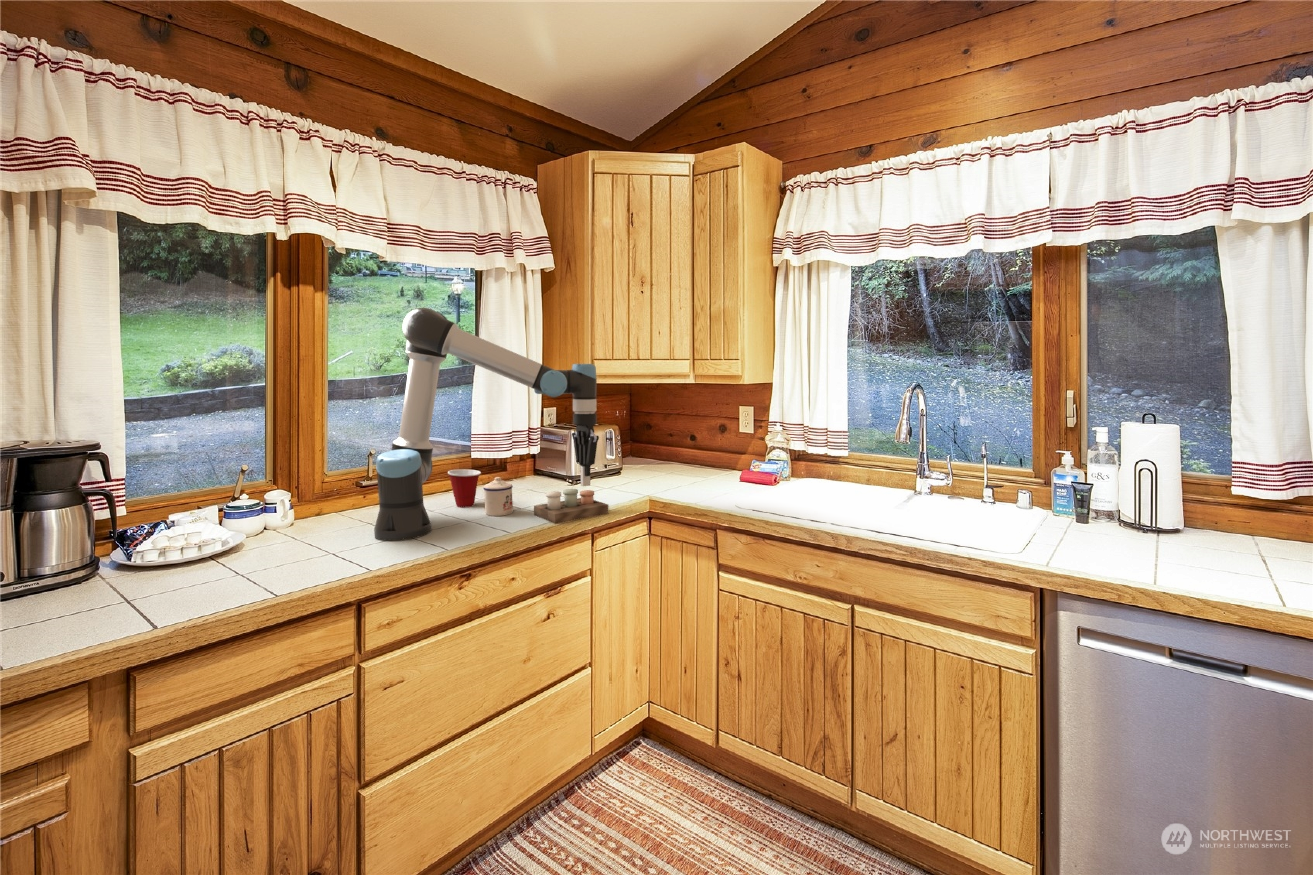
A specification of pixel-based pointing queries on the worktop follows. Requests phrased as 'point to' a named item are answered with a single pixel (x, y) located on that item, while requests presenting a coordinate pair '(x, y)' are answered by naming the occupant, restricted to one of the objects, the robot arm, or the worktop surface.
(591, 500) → the pink short cylinder
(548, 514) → the button board
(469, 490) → the plastic cup
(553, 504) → the cream button
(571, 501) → the sage button
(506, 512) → the teacup with lid
